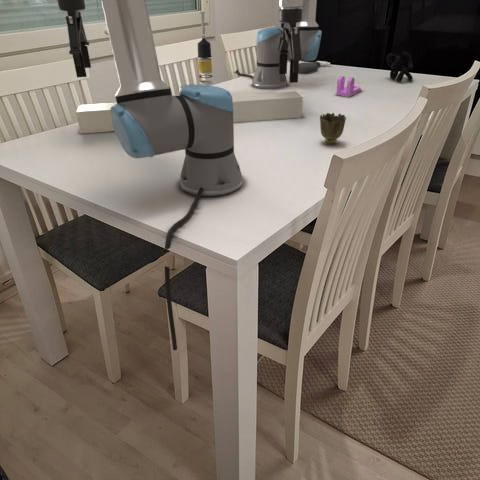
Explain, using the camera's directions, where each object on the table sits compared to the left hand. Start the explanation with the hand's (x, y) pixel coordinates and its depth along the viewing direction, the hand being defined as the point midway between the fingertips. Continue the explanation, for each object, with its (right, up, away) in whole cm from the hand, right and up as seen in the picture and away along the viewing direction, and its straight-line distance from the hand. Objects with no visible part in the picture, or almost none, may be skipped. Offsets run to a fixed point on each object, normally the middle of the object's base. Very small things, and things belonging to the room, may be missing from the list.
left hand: (84, 72), depth 140 cm
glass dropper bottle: (+35, +10, +50) cm, 61 cm away
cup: (+76, -24, -7) cm, 80 cm away
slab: (+33, -12, +14) cm, 38 cm away
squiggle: (+121, +19, +61) cm, 137 cm away
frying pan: (+85, +33, +84) cm, 124 cm away
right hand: (+65, +3, +12) cm, 66 cm away
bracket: (+94, +8, +44) cm, 104 cm away
